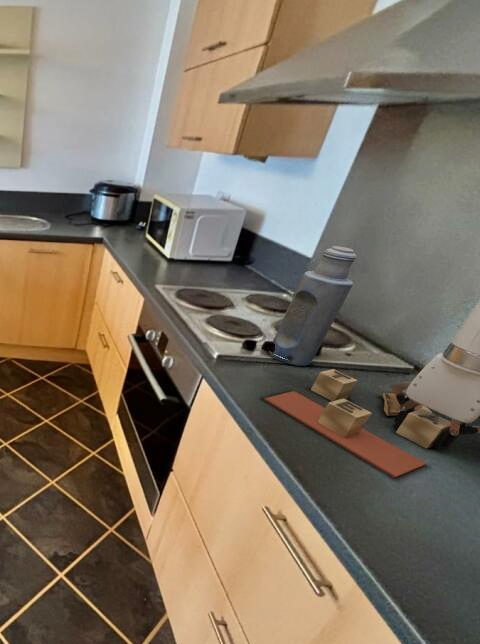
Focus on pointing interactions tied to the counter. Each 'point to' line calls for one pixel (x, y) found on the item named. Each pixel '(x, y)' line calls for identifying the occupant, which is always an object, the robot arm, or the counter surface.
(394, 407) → the shard
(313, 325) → the bottle
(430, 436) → the letter A
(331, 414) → the letter E
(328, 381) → the letter T
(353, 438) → the word mat
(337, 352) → the counter surface
